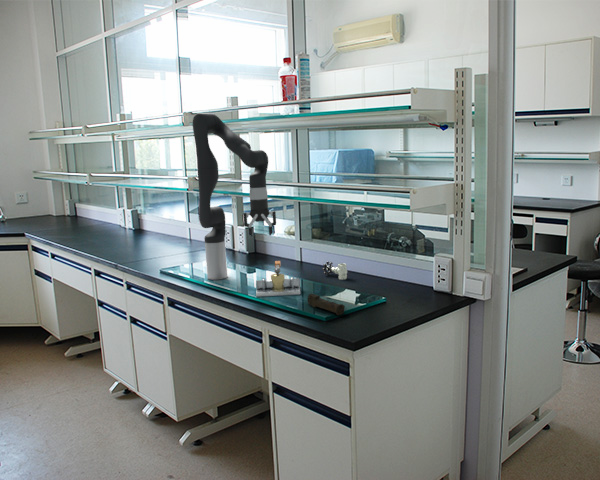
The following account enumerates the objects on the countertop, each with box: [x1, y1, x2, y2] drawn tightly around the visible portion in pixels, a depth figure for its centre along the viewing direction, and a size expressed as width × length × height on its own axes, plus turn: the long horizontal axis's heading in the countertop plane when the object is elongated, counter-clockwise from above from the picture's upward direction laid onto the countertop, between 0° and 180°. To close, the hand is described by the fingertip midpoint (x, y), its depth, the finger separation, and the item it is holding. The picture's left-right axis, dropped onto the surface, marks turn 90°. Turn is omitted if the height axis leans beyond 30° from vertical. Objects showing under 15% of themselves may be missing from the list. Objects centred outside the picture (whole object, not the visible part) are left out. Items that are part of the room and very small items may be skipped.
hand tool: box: [307, 293, 345, 316], centre depth 203 cm, size 19×4×5 cm, turn 36°
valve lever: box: [274, 260, 281, 274], centre depth 234 cm, size 15×2×2 cm, turn 1°
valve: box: [322, 260, 348, 280], centre depth 248 cm, size 7×7×12 cm
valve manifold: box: [255, 272, 301, 298], centre depth 229 cm, size 12×18×8 cm, turn 92°
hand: (260, 235), depth 237 cm, fingers open, 7 cm apart
